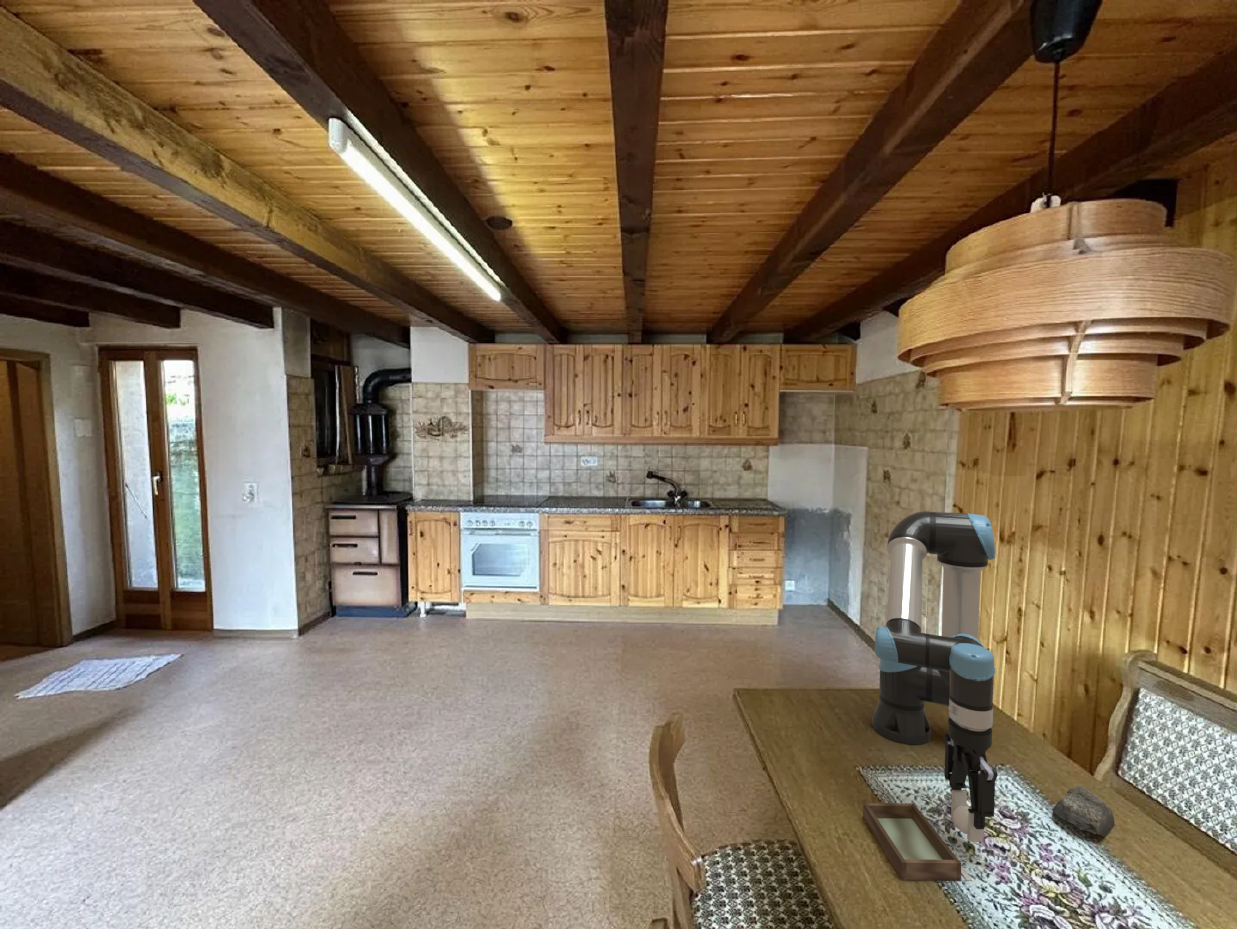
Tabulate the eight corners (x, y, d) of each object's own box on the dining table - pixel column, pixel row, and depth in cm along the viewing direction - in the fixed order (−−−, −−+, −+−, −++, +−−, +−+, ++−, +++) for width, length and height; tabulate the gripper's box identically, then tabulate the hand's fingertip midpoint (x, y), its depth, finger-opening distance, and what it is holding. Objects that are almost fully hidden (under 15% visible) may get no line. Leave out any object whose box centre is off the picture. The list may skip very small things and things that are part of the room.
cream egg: (970, 823, 113) (971, 800, 112) (986, 841, 108) (987, 817, 108) (947, 823, 113) (948, 800, 113) (961, 840, 108) (962, 817, 108)
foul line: (923, 818, 118) (923, 817, 118) (971, 881, 102) (971, 880, 102) (918, 818, 118) (918, 817, 118) (966, 881, 102) (966, 879, 102)
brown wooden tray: (913, 818, 118) (913, 803, 118) (960, 881, 102) (961, 863, 102) (863, 818, 119) (863, 803, 118) (901, 880, 102) (902, 862, 102)
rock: (1096, 848, 110) (1096, 817, 110) (1045, 823, 117) (1045, 794, 117) (1117, 823, 117) (1118, 794, 117) (1068, 801, 124) (1069, 774, 124)
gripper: (926, 700, 118) (924, 800, 119) (980, 748, 100) (976, 865, 102) (961, 699, 118) (958, 800, 119) (1020, 748, 100) (1016, 865, 101)
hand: (966, 829), depth 110 cm, fingers closed on cream egg, 5 cm apart
